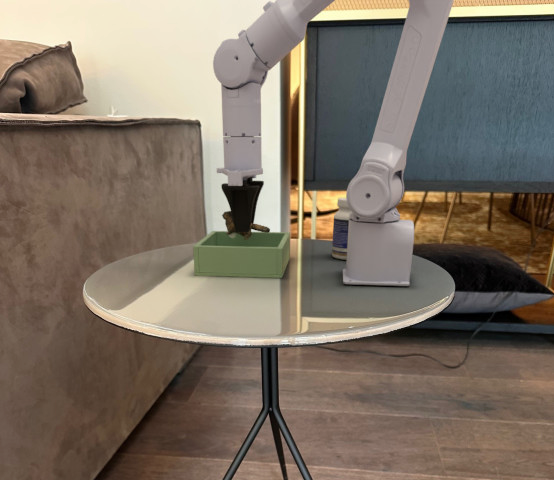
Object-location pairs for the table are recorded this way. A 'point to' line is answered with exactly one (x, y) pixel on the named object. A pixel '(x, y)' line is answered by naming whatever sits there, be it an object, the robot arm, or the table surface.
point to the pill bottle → (341, 230)
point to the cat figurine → (233, 233)
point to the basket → (242, 255)
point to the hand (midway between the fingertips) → (244, 229)
